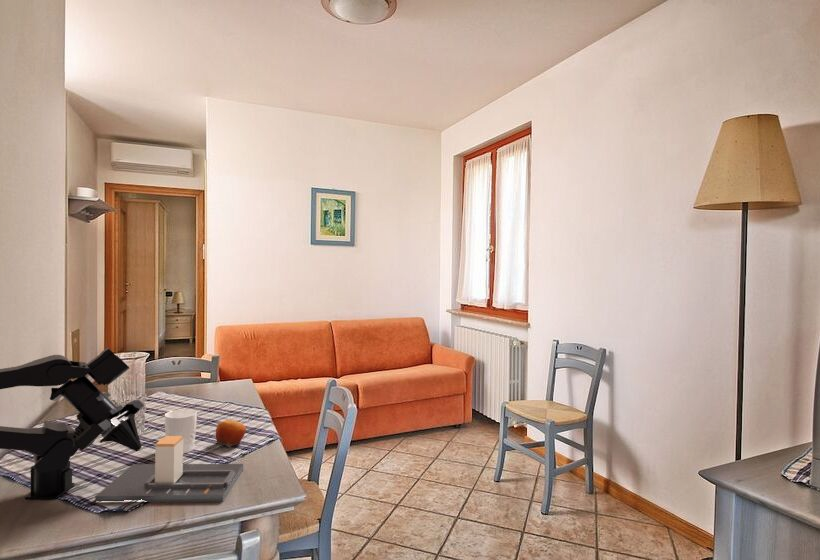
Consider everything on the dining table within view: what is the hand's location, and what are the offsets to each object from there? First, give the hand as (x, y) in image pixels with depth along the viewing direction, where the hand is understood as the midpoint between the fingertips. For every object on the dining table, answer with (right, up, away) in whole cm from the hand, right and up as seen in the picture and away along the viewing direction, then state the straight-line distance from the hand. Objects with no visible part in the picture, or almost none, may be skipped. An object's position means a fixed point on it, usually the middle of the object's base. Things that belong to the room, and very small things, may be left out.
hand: (139, 449), depth 107 cm
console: (+8, -8, +1) cm, 12 cm away
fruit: (+11, -8, +26) cm, 29 cm away
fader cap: (+7, -7, 0) cm, 10 cm away
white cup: (-1, -8, +21) cm, 23 cm away
